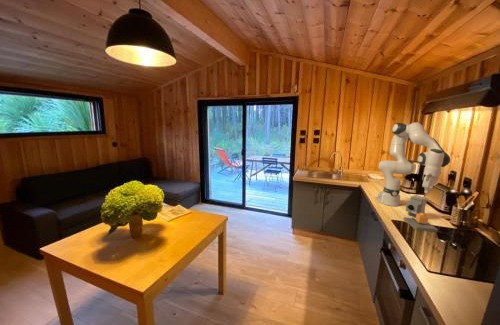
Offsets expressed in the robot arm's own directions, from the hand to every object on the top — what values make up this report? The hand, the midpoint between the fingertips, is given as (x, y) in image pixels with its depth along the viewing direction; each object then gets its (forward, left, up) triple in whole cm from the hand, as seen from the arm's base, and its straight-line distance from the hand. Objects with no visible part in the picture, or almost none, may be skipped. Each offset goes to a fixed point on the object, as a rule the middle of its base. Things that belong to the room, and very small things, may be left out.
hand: (428, 191), depth 155 cm
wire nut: (+6, -5, -21) cm, 22 cm away
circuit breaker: (-12, +1, -24) cm, 27 cm away
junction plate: (+6, -5, -24) cm, 25 cm away
